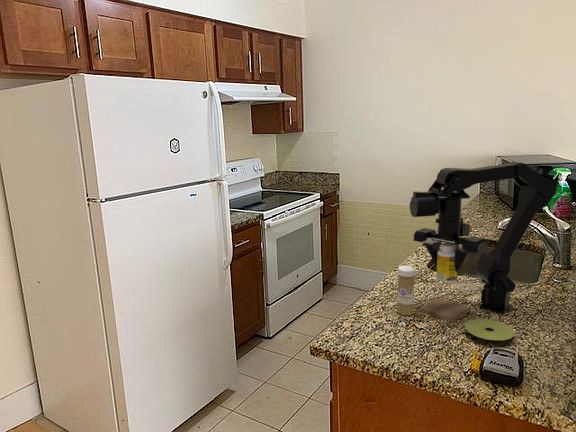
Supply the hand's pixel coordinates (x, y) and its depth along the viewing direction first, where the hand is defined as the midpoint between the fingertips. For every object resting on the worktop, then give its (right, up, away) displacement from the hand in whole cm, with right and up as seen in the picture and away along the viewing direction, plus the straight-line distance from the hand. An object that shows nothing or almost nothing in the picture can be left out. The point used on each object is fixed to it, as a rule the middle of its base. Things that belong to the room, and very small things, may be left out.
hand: (447, 269), depth 120 cm
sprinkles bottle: (-11, -13, +2) cm, 17 cm away
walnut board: (0, -12, +3) cm, 12 cm away
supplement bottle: (0, -3, +1) cm, 3 cm away
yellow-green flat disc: (+6, -15, -12) cm, 21 cm away
